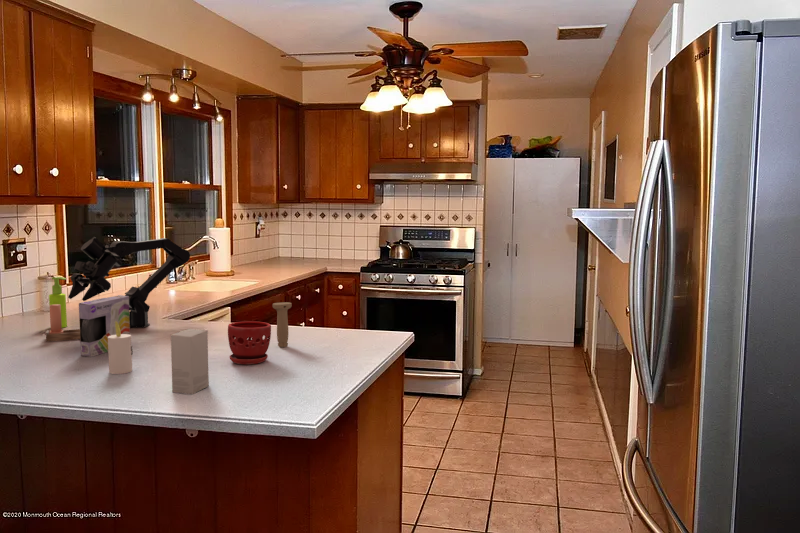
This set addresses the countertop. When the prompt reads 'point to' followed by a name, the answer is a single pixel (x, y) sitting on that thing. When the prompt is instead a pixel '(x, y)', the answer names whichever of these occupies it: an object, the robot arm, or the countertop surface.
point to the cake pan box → (102, 323)
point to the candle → (120, 352)
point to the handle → (282, 322)
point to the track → (63, 335)
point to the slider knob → (55, 319)
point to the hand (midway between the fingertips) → (76, 299)
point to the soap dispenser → (59, 299)
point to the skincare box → (189, 361)
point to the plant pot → (249, 342)
